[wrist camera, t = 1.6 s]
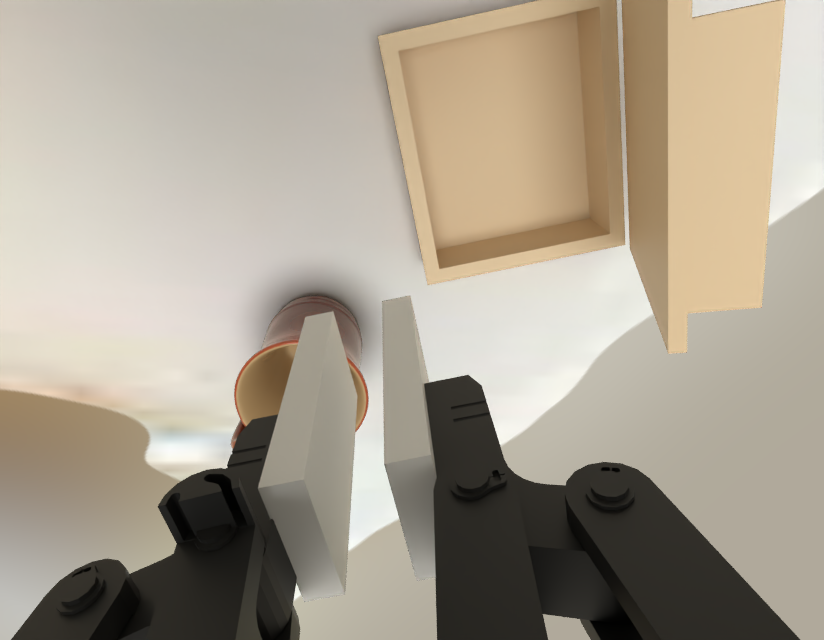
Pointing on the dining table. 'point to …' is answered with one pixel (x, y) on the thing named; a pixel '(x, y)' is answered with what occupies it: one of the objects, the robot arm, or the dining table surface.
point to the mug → (272, 364)
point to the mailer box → (510, 134)
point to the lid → (700, 154)
